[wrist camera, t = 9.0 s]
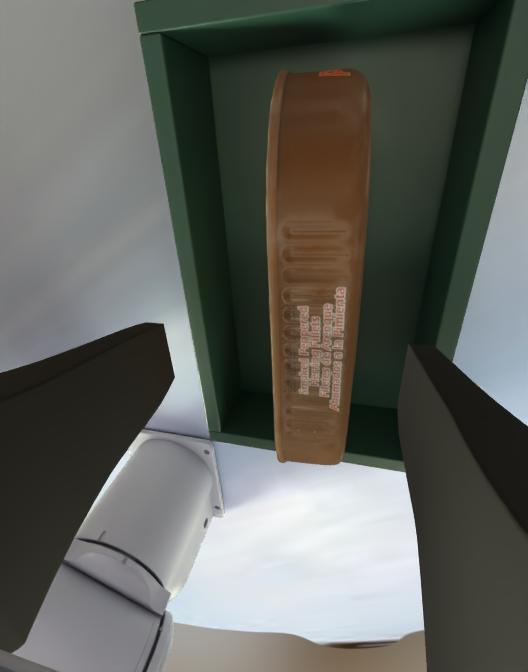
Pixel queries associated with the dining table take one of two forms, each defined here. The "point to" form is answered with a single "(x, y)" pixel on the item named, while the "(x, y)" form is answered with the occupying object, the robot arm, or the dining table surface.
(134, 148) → the dining table surface
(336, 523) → the dining table surface
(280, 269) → the tin
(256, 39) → the tote
